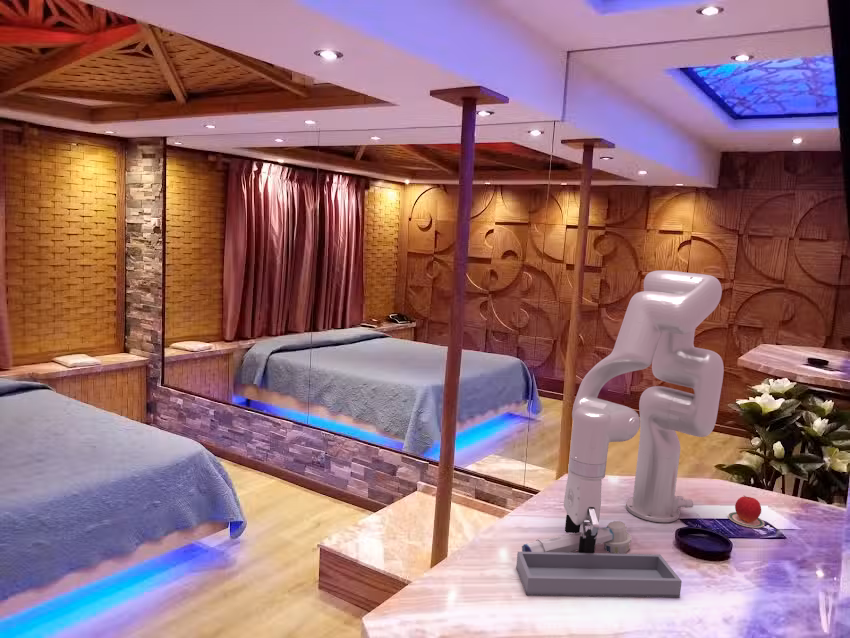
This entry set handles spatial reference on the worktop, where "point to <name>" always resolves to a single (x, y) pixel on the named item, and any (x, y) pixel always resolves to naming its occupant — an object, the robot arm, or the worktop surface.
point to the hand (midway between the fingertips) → (578, 543)
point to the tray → (597, 575)
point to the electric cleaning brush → (610, 536)
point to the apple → (747, 513)
